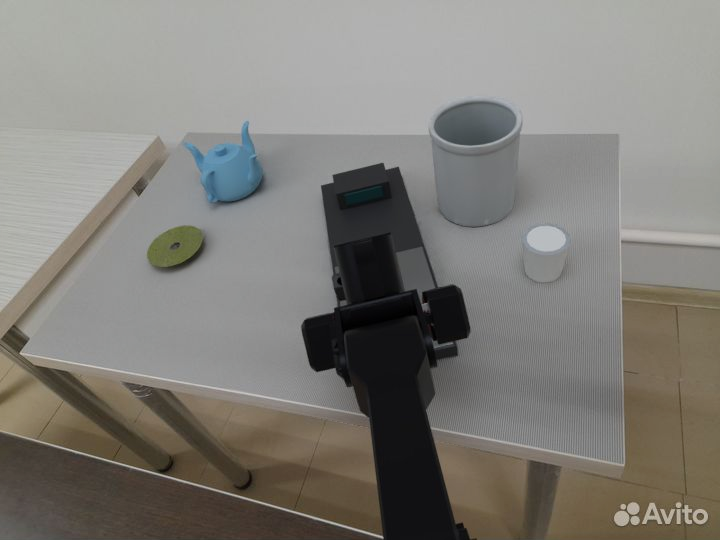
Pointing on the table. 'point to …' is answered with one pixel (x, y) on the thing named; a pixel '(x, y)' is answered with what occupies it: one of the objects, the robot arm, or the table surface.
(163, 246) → the mat
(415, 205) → the table surface
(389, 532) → the robot arm
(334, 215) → the scale
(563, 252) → the shot glass
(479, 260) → the table surface
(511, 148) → the utensil holder
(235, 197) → the teapot
